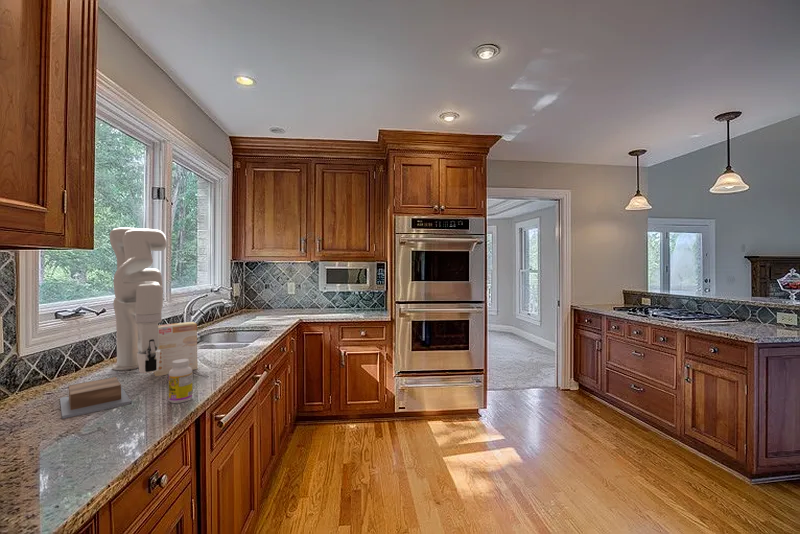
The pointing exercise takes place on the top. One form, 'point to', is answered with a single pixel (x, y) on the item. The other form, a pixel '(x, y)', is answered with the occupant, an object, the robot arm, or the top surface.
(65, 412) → the slate gray board
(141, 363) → the white tapered cup
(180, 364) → the supplement bottle
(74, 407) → the walnut plinth
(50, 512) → the top surface
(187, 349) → the coffeecake box
